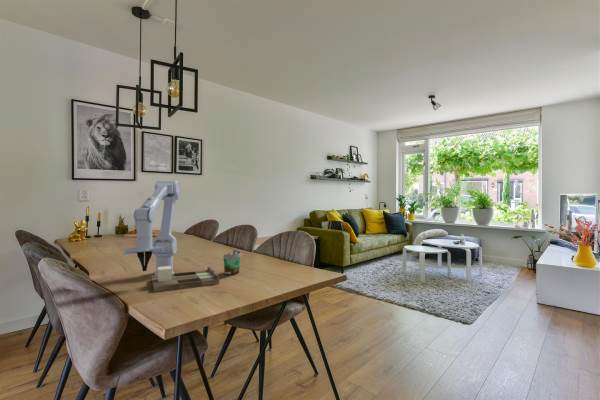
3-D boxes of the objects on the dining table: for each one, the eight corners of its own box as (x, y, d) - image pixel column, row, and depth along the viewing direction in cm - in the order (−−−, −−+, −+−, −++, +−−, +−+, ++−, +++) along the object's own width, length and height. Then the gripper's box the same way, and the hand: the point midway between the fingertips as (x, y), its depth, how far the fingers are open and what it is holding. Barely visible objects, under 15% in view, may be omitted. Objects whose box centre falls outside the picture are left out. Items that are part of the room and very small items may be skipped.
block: (157, 278, 132) (157, 267, 132) (170, 277, 134) (170, 265, 134) (158, 282, 128) (158, 269, 128) (171, 280, 130) (171, 268, 130)
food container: (235, 277, 144) (235, 255, 144) (223, 276, 145) (223, 254, 145) (245, 270, 156) (245, 250, 156) (233, 269, 157) (234, 249, 157)
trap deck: (151, 280, 137) (151, 272, 137) (209, 273, 149) (209, 266, 149) (154, 292, 121) (154, 283, 121) (219, 283, 133) (219, 275, 133)
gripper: (123, 239, 120) (123, 274, 120) (164, 237, 127) (164, 270, 127) (124, 237, 126) (124, 270, 126) (163, 235, 133) (163, 267, 133)
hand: (144, 270), depth 127 cm, fingers closed
